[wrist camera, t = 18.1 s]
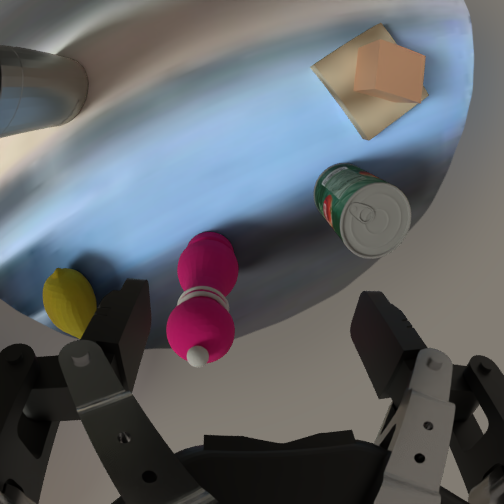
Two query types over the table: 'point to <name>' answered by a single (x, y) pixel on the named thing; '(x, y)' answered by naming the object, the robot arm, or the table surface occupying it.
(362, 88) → the cardboard cube
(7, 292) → the table surface
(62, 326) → the lemon
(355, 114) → the post base
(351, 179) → the canned tomato
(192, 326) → the pepper mill
